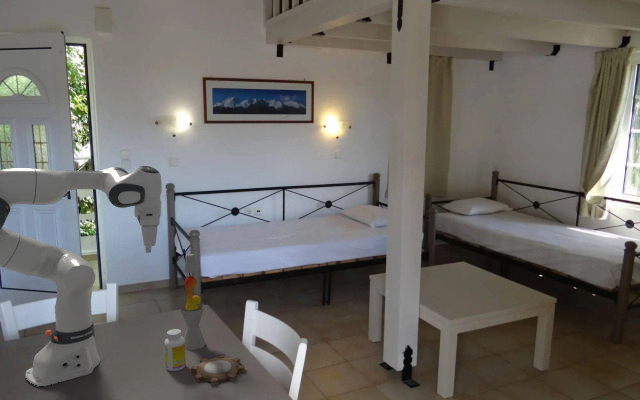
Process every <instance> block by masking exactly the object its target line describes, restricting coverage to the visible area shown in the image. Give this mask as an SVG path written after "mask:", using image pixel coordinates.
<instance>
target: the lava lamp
mask: <svg viewBox="0 0 640 400" xmlns="http://www.w3.org/2000/svg"><path fill="white" fill-rule="evenodd" d="M198 271H199V268H198V264H197V259H196V255H195V254H194V253H188V254H186V255H185V262H184V271H183V272H184V273H187V274H193V273H197V272H198ZM184 286H185V290H186V295H187V296H186V303H184V304H182V305H180V306H179V311H180V314H181V315H182V318H183V320H184V322H185V324H186V329H185V333H184V336H183V338H184V340H185V350H188V351H195V350H199V349H202V348H204V347H205V345H206V341H205V338H204V336H203V333H202V331H201V327H200V323H201V320H202V317H203V313H204V310H205V306H206V305H205V304H204V303H202V302H201V297H200V296H199V295H196V294H195V295H194V294H193V293H194V289H195V287H196V286H197V278H195V276H192V275H191V276H190V275H188V276H187V277H185V280H184Z"/></svg>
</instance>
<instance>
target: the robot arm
mask: <svg viewBox="0 0 640 400" xmlns="http://www.w3.org/2000/svg"><path fill="white" fill-rule="evenodd" d="M162 186H163V185H162V175H161V173H160V172H159V170H158V169H156V168H155V167H152V166H150V165H140V166H137V168H136V169H135V170H133V171H132V172H130V173H129V172H128V171H127V170H126V169H124V168H122V167H118V166H114V167H109V168H104V169H102V170H101V169H100V170H71V169H70V170H60V169H59V170H56V169H55V170H54V169H43V168H31V167H30V168H29V167H26V168H25V167H19V168H17V167H15V168H14V167H13V168H3V169H0V267H1V268H3V269H7V270H10V271H13V272H16V273H19V274H23V275H25V276H28V277H29V276H32V277H36V278H41V279H45V280H49V281H50V282H51V281H52V282H54V284H55V285H56V300H55V304H54V317H55V328H54V330H53V331H52V330H51V329H47V330H45V332H44V334H45V336H46V337H48V338H50V340H49V342H48V343H46V345H45V346H44V347H42V349H40V351H38V352H37V353H36V354H35V355H34V358H33V360H32V361H33V362H32V367H30V368H29V369H27V370H26V372H25V379H26V378H27V379H26V381H27V380H28V381H29V382H30V383H29V382H28V381H27V382H28V383H29V384H31V383H32V384H34V385H33V386H35V385H37V386H36V387H39V386H44V387H48V386H52V385H54V384H59V383H62V382H66V381H69V380H73V379H76V378H80V377H84V376H87V375H90V374H92V373H93V372H94V369H95V368H96V367H97V366H98V365H99V364H100V362H101V358H100V356H99V353H98V351H97V347H96V342H95V336H96V335H95V326H94V325H95V323H94V322H93V313H92V295H93V290H94V289H93V287H94V284H95V281H96V273H95V269H94V268H93V266H92V264H91V263H90V262H89V261H87V260H86V259H84V258H83V257H82V256H80V255H79V254H77V253H76V252H74V251H71V250H69V249H64V248H62V247H58V246H55V245H52V244H49V243H45V242H43V241H40V240H37V239H34V238H32V237H29V236H26V235H23V234H21V233H18V232H15V231H12V230H10V229H7V228H6V227H4V225H5V223H6V221H7V218H8V216H9V214H10V213H11V211H12V210H11V207H13V206H15V205H30V206H31V205H32V206H33V205H34V206H47V205H53V204H57V203H58V202H60V201H61V200H63V198H64V197H65V196H66V194H67V193H68V192H70V191H73V190H74V191H75V190H98V191H101V192H103V193H105V195H106V197H107V199H108V201H109V202H110V203H111V204H112V205H113V206H114V207H116V208H120V209H124V208H125V209H126V208H131V207H134V211H133V213H134V217H135V218H136V219H137V221H138V223H139V226H140V228H141V236H142V241H143V246H144V247H145V249H144V250H145V253H146V254H149V253H151V252H152V247H155V246H156V242H157V235H158V226H160V222H161V221H160V220H161V219H160V218H161V215H162V200H161V195H162V191H163V189H162ZM58 382H59V383H58ZM32 384H31V385H32ZM51 384H52V385H51Z"/></svg>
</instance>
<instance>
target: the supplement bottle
mask: <svg viewBox="0 0 640 400" xmlns="http://www.w3.org/2000/svg"><path fill="white" fill-rule="evenodd" d="M166 337H167V338H166V339H165V340H164V361H165V362H164V363H165V365H164V366H165V369H166V371H170V372H178V371H181V370H183V369H185V367H186V365H187V364H186V363H187V362H186V349H185V340H184V336H182V330H181V329H178V328H172V329H169V330H167V332H166Z"/></svg>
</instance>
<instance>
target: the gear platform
mask: <svg viewBox="0 0 640 400" xmlns="http://www.w3.org/2000/svg"><path fill="white" fill-rule="evenodd" d="M240 364H241V358H239V357H238V356H236V357H234V358H230V357H225V354H218V357H212V358H209V359H208V358H206V357H203V358H201V359H200V360H199V364H198V365H195V366H193V365H192V366H191V368H190V374H195V375H193V381H195V382H197V383H199V382H202V381H204V382H207V383H210V386H218V384H219V383H220V382H226V381H230V382H231V383H233V382H235V381H237V379H238V374H239V373H245V370H244V369H246V368H245V364H244V365H242V364H241V365H240Z"/></svg>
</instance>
